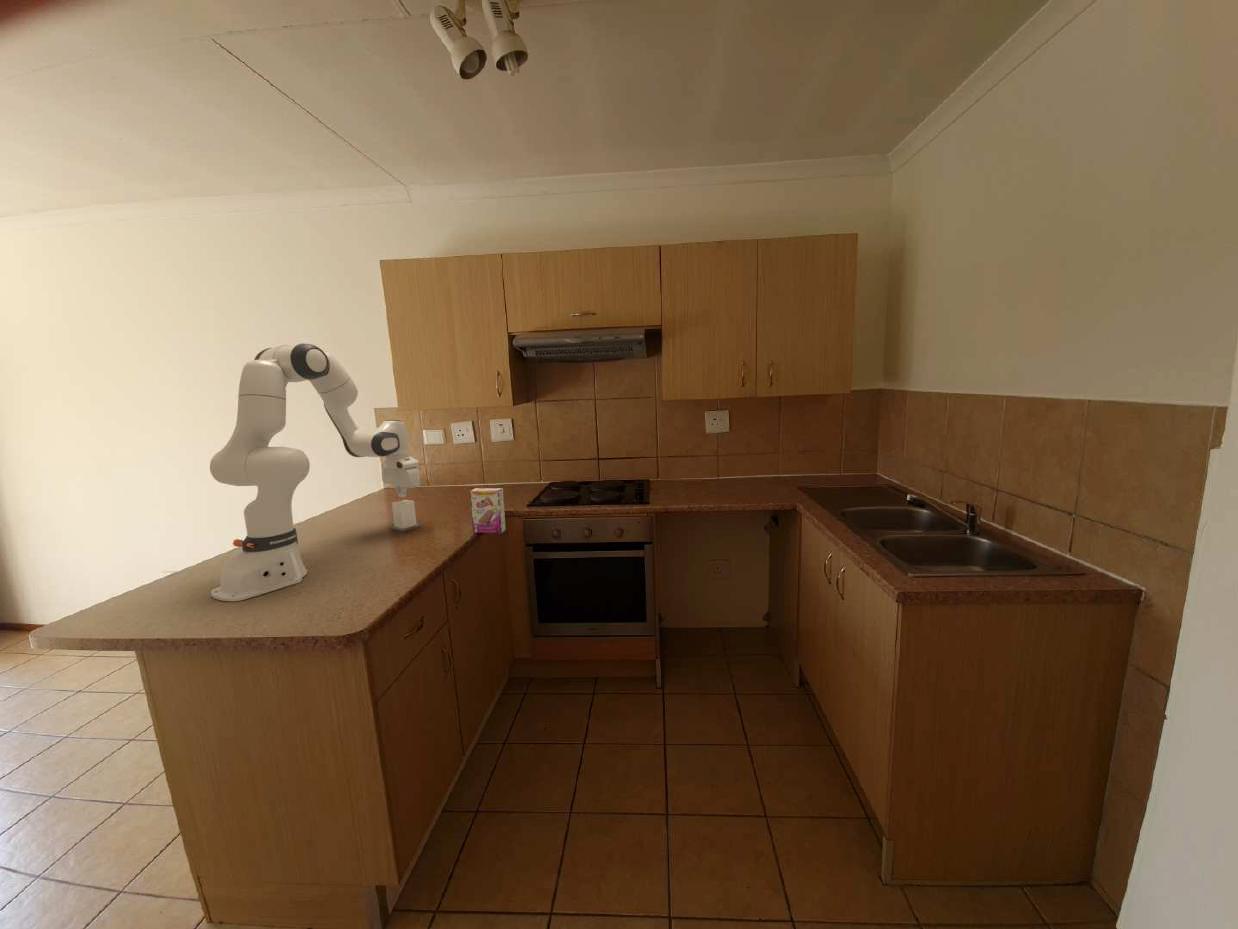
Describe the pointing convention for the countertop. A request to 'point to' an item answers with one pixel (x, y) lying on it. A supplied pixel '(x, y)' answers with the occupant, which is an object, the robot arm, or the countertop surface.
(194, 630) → the countertop surface
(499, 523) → the candy bar box
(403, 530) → the post
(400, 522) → the white tissue box
